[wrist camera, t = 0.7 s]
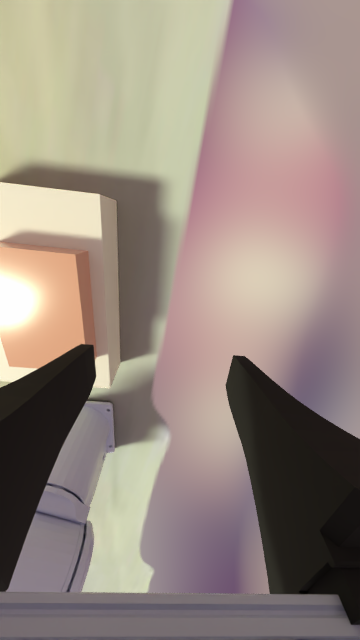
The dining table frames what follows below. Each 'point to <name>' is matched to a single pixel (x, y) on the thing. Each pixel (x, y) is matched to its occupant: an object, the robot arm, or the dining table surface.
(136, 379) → the dining table surface
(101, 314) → the cream rectangular block
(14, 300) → the terracotta tile
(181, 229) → the dining table surface
